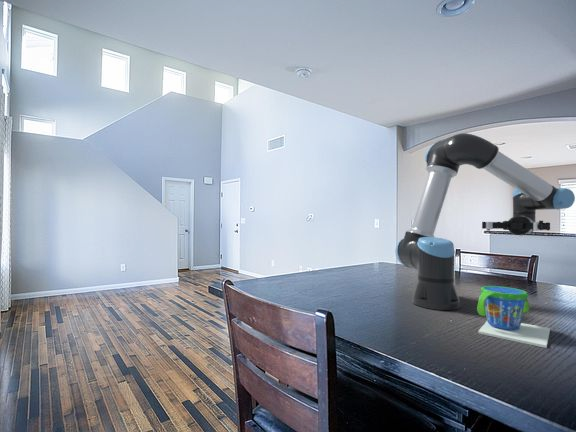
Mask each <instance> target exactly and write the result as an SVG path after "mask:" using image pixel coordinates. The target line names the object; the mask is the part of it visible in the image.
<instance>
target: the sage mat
mask: <svg viewBox="0 0 576 432" xmlns="http://www.w3.org/2000/svg"><path fill="white" fill-rule="evenodd" d="M550 332H551V328H550V327H546V326H540V325H535V324H530V323H523V322H521V324H520V329H514V330H508V329H501V328H497V327H493V326H492V325H490V324H489V323H488V322H487V320H486V321H485V322H484V324H483V325H482V326H481V327H480V328H479V329H478V331H477V333H478V334H479V335H484V336H489V337H494V338H498V339H502V340H508V341H511V342H516V343H521V344H525V345H531V346H535V347H540V348H544V349H547V348H548V342H549V338H550Z"/></svg>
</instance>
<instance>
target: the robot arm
mask: <svg viewBox="0 0 576 432" xmlns="http://www.w3.org/2000/svg"><path fill="white" fill-rule="evenodd" d="M424 157H425V158H424V159H425V162H426V168H425V170H426V171H427V173H428V175H427V178H426V182H425V183H424V188H423V190H422V194H421V197H420V200H419V203H418V206H417V209H416V212H415V215H414V219H413V221H412V225H411V228H410V229H407V230H405V233H404V236H403V238H402V239H400V240H399V241H398V242H397V244H396V245H395V249H394V251H395V252H394V253H395V256H396V259H397V261H398V262H399V263H400V264H402V265H403V266H405V267H406V268H409V269H414V270H417V283H416V286H415V289H414V291H413V294H412V303H413V304H414V305H416V306H418V307H421V308H425V309H430V310H439V311H452V310H453V311H454V310H458V309H460V307H461V304H460V303H461V301H460V298H459V295H458V291H457V290H456V286H455V255H456V253H455V245H454V242H453V241H452V240H450V239H447V238H443V237H435V235H434V234H435V232H436V228H437V226H438V222H439V219H440V216H441V212H442V209H443V205H444V202H445V200H446V196H447V193H448V189H449V187H450V184H451V181H452V179H453V178H454V177H456V176H457V175H458V172H459V169H460V166H464V165H469V166H473V167H474V168H476V169H478V170H481V169H483V170H485V171H487V173H490V174H491V175H493V176H495V177H496V178H498V180H501V181H503V182H504V183H506V184H508V185H509V186H510V187H512V188H514V189H513V193H512V217H510V219H508V220H503V221H482V223H481V229H485V230H486V231H487V232H490V231H491V230H495V229H496V230H498V229H500V230H501V229H503V230H504V231H509V233H511V234H512V235H516V236H519V237H523V236H524V235H529V234H531V233H533V232H534V231H535V232H536V231H539V230H540V231H550V230H551V222H544V220H539V221H537V220H536V211H539V210H543V211H544V210H557V211H558V210H564V209H565V210H566V209H569V208H571V207H572V206H573V205H574V204H575V198H576V197H575V196H576V195H575V194H574V192H573V191H572V190H571V189H569V188H567V187H566V188H562V187H560V188H559V187H558V188H557V187H555V186H554V185H552V184H550V183H549V182H548V181H546V180H544V179H543V178H542V177H540V176H538V175H537V174H535V173H534V172H532V171H530V170H529V169H527V168H526V167H524V166H523V165H521V164H519V163H518V162H516V161H514V159H512V158H510V157H509V156H507V155H506V154H504V153H502V151H500V148H499V147H498V145H496V144H494V143H492V142H491V141H489V140H488V139H485V138H483V137H480V136H478V135H475V134H471V133H466V132H465V133H464V132H462V133H461V132H460V133H457V134H454V135H451V136H449V137H447V138H445V139H442V140H438V141H437V142H435V143H433V144H432V145H430V146H429V147H428V148H427V150H426V153H425V156H424Z"/></svg>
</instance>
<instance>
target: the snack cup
mask: <svg viewBox="0 0 576 432" xmlns="http://www.w3.org/2000/svg"><path fill="white" fill-rule="evenodd" d="M480 291H481V294H480V295H479V298H478V301H477V302H478V303H477V307H476V310H477V313H478V314H479V315H480V316H483V317H486V321H487V322H488V323H489V324H490V325H492V326H493V327H497V328H501V329H508V330H514V329H520V324H521V323H522V319H523V315H524V314H523V313H525V314H527V313H529V311H530V304H529V303H530V302H529V300H528V297H529V294H528V292H527V291H525V290H523V289H519V288H515V287H508V286H507V287H506V286H499V285H484V286H482V287H481V288H480Z"/></svg>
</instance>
